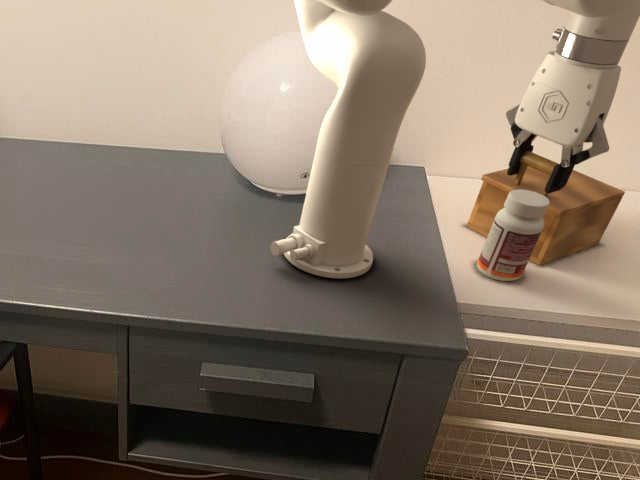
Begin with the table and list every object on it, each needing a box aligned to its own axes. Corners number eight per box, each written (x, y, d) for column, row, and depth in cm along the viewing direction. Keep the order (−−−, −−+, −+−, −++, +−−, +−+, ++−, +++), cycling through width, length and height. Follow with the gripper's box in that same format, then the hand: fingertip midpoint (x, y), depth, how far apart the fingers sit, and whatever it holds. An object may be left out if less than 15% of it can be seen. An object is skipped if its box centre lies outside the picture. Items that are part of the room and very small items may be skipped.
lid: (558, 217, 102) (576, 178, 98) (480, 179, 110) (494, 143, 107) (622, 196, 108) (641, 160, 105) (544, 163, 117) (559, 128, 113)
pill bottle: (529, 276, 105) (564, 202, 97) (503, 287, 102) (537, 211, 95) (492, 256, 108) (522, 184, 101) (466, 266, 106) (495, 192, 99)
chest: (539, 265, 107) (562, 216, 102) (466, 226, 116) (483, 179, 111) (598, 244, 113) (622, 197, 108) (524, 208, 122) (544, 163, 117)
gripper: (514, 33, 98) (467, 164, 110) (637, 71, 87) (571, 212, 99) (549, 28, 101) (500, 156, 113) (672, 64, 90) (604, 201, 102)
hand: (533, 180), depth 106 cm, fingers closed on lid, 5 cm apart
